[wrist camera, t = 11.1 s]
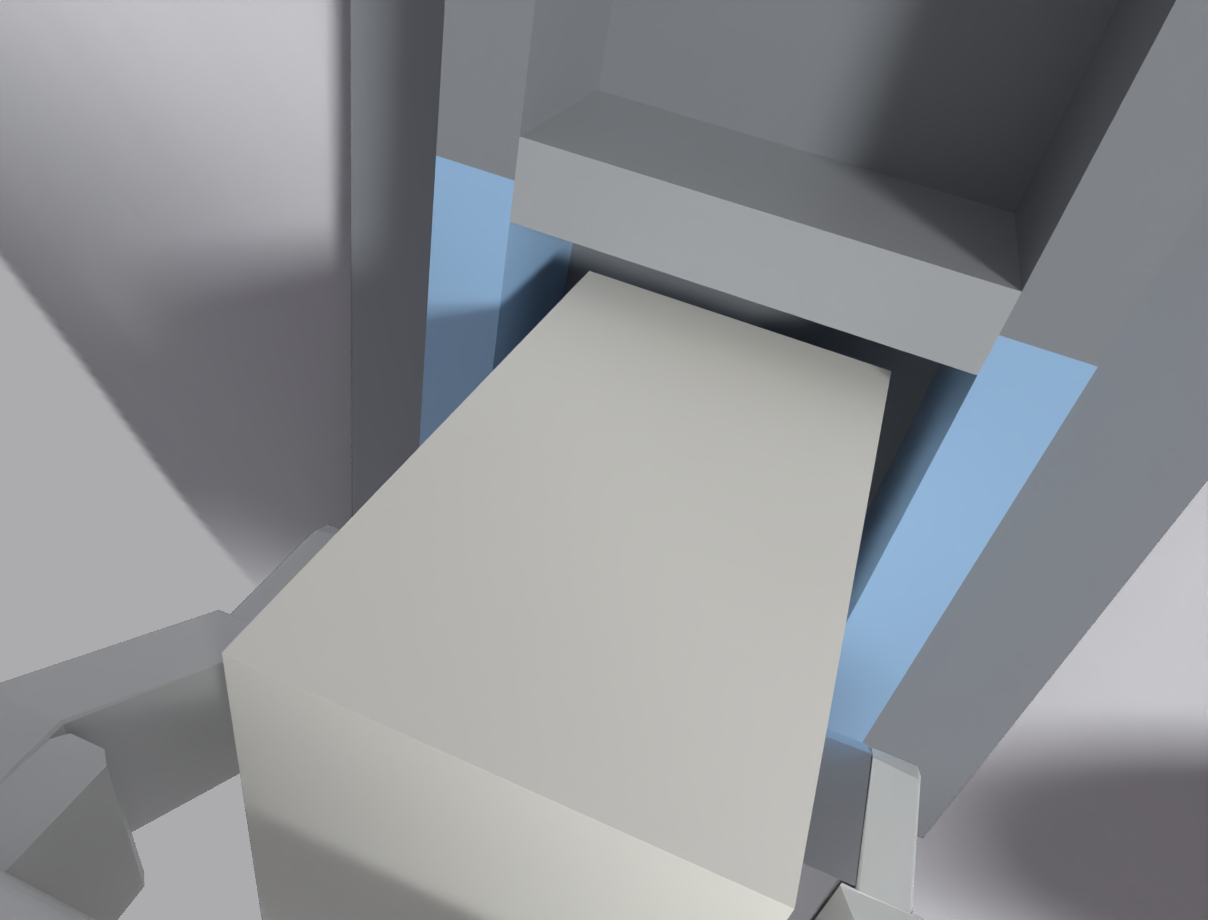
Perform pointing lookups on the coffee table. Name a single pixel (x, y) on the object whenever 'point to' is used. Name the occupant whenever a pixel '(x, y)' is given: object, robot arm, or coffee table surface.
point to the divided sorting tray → (833, 277)
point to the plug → (571, 636)
